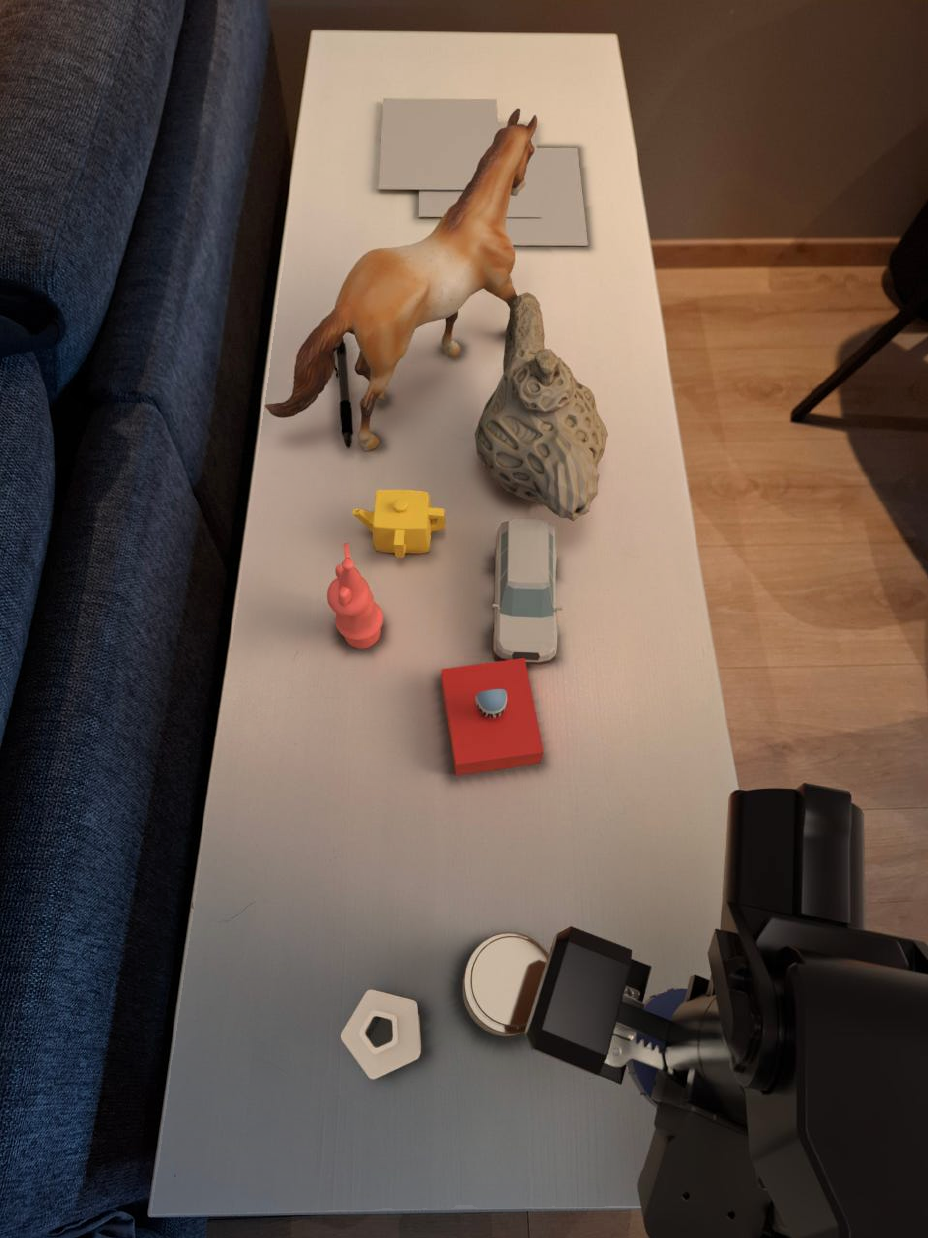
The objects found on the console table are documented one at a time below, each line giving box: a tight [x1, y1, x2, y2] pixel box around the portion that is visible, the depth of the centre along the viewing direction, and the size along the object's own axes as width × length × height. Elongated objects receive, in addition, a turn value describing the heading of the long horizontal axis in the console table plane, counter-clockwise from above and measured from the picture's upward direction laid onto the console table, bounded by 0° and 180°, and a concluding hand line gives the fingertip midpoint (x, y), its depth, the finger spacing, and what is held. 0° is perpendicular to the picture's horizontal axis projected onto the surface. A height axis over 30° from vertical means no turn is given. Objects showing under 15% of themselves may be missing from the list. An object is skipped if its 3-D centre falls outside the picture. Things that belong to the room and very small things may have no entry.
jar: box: [461, 931, 549, 1037], centre depth 57 cm, size 6×6×9 cm
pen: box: [333, 337, 354, 449], centre depth 84 cm, size 14×2×1 cm, turn 7°
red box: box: [440, 658, 545, 776], centre depth 67 cm, size 8×7×6 cm
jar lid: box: [627, 987, 687, 1111], centre depth 49 cm, size 7×7×2 cm
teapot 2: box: [474, 292, 609, 522], centre depth 75 cm, size 21×12×15 cm, turn 12°
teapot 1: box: [352, 489, 447, 559], centre depth 75 cm, size 8×6×5 cm
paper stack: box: [378, 97, 589, 247], centre depth 100 cm, size 23×25×1 cm
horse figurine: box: [264, 108, 538, 451], centre depth 77 cm, size 31×8×21 cm, turn 133°
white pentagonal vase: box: [340, 989, 422, 1080], centre depth 53 cm, size 5×4×15 cm
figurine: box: [326, 542, 384, 650], centre depth 68 cm, size 4×4×12 cm
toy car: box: [491, 518, 563, 666], centre depth 73 cm, size 6×13×5 cm, turn 178°
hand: (678, 1053), depth 51 cm, fingers closed on jar lid, 6 cm apart
